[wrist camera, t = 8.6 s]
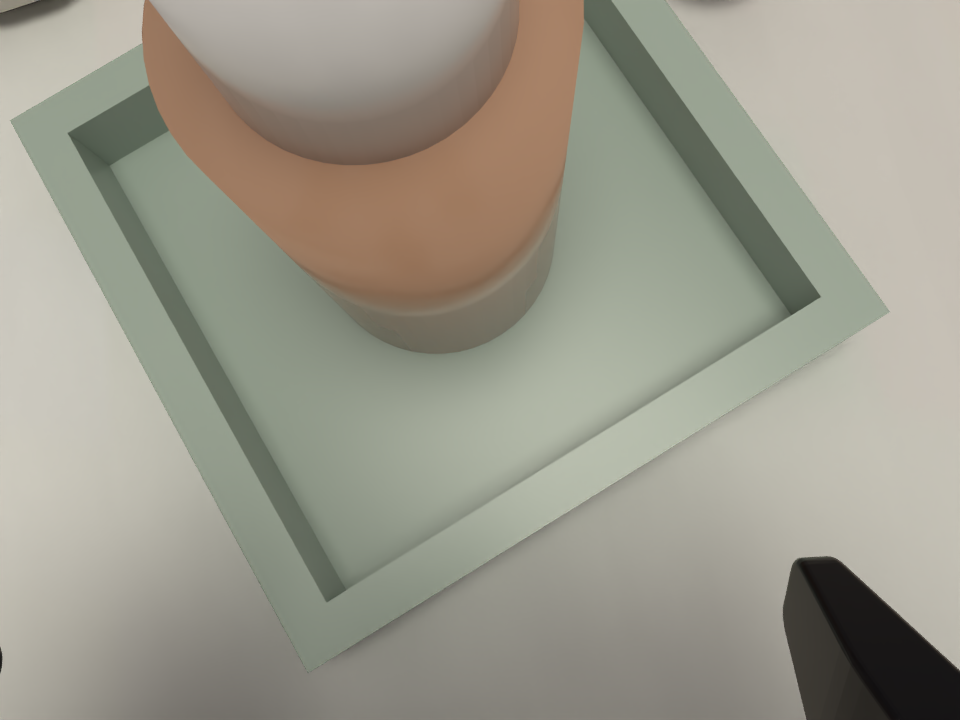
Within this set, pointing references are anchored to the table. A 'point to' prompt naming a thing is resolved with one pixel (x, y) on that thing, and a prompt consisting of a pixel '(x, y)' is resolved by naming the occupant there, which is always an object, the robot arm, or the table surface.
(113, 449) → the table surface
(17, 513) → the table surface
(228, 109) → the shaker
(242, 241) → the tray
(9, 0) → the supplement can
